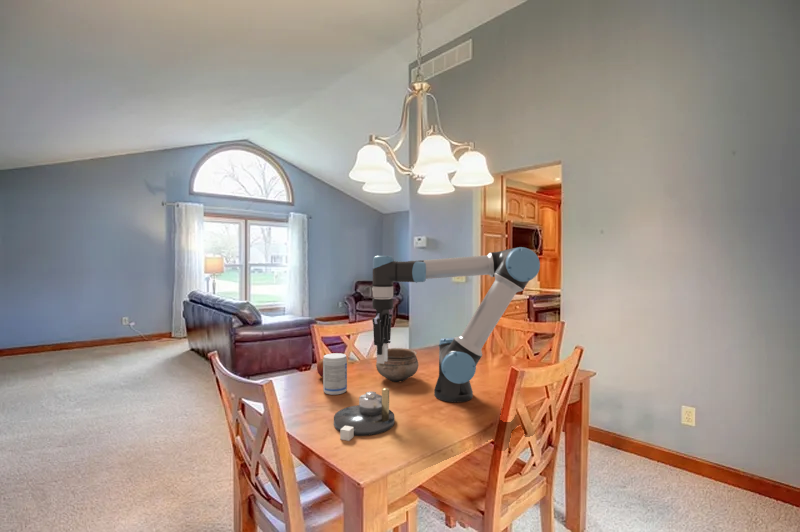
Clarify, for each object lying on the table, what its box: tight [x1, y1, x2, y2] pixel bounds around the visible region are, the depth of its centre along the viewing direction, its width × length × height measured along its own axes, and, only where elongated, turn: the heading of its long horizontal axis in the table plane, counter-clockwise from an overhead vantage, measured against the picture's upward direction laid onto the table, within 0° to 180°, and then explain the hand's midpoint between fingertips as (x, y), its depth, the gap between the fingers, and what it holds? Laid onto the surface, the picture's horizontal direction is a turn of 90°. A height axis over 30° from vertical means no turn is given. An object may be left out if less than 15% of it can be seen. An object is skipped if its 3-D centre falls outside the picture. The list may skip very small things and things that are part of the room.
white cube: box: [339, 426, 355, 442], centre depth 121 cm, size 3×3×3 cm
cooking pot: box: [375, 347, 419, 383], centre depth 178 cm, size 25×19×12 cm
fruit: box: [316, 358, 323, 378], centre depth 180 cm, size 11×10×10 cm
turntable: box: [333, 387, 395, 437], centre depth 132 cm, size 20×20×12 cm
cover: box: [358, 390, 382, 415], centre depth 137 cm, size 8×8×6 cm
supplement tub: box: [322, 352, 348, 396], centre depth 162 cm, size 10×10×15 cm
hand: (382, 361), depth 146 cm, fingers open, 3 cm apart
